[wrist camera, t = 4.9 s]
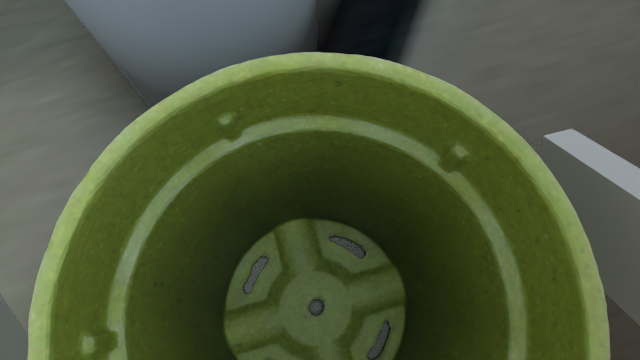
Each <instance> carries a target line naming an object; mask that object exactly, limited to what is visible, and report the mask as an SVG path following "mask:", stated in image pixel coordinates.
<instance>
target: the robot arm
mask: <svg viewBox="0 0 640 360" xmlns="http://www.w3.org/2000/svg"><path fill="white" fill-rule="evenodd" d="M541 159H542V160H543V162H544V163H545V164H546V165H547V167H548V168H549V170H550V171H551V172H552V174H553V175H554V177H555V178H556V180H557V181H558V183H559V184H560V186H561V187H562V189H563V191H564V192H565V194H566V195H567V197H568V199H569V201H570V202H571V204H572V206H573V208H574V209H575V211H576V213H577V215H578V218H579V220H580V222H581V224H582V226H583V229H584V232H585V234H586V236H587V238H588V240H589V242H590V245H591V249H592V252H593V255H594V258H595V261H596V264H597V266H598V271H599V276H600V279H601V282H602V285H603V288H604V292H605V293H606V294H607V295H608V296H609V297H610V298H611V299H612V300H613V301H614V302H615V303H616V304H617V305H618V306H619V307H620V308H621V309H622V310H623V311H624V312H625V313H627V314H628V315H629V316H630V317H631V318H632V319H633V320H634V321H635V322H636V323H637V324H638V325H639V326H640V168H638V167H636V166H634V165H633V164H631V163H629V162H628V161H626V160H624V159H623V158H621V157H619V156H618V155H616V154H614V153H612V152H611V151H609V150H607V149H606V148H604V147H602V146H601V145H599V144H597V143H596V142H594V141H592V140H590V139H589V138H587V137H585V136H584V135H582V134H580V133H579V132H577V131H575V130H574V129H568V130H564V131H560V132H556V133H552V134H548V135H544V136H543V143H542V155H541ZM27 357H28V334H27V333H26V331H25V330H24V328H23V327H22V325H21V324H20V322H19V321H18V319H17V318H16V316H15V315H14V313H13V312H12V310H11V309H10V307H9V306H8V304H7V303H6V302H5V300H4V299H3V297H2V296H1V294H0V360H27Z"/></svg>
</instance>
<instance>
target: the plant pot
mask: <svg viewBox="0 0 640 360" xmlns="http://www.w3.org/2000/svg"><path fill="white" fill-rule="evenodd" d="M333 236H339V237H344V238H348V239H350V240H353V241H354V242H356V243H357V244H358V245H360V246H361V247H362V248H363V250H364V251H365V253H366V254H365V256H364V258H358V257H357V256H356V255H355V254H353V253H352V252H350V251H349V250H347V249H346V248H344V247H342V246H340V245H337V244H336V242H331V241H330V240H329V237H333ZM261 256H263V257H267V258H268V263H267V264H266V266H264V268H263V270H262V271H261V273H260V274H259V276H258V278H257V280H256V281H255V284H254V285H253V289H252V291H251V293H248V294H245V291H244V289H243V286H244V284H245V282H246V280H247V278H248V277H249V275H250V269H251V267H252V265H253V264H254V263H255V262H256V261H257V260H258V259H259V258H260V257H261ZM315 299H319V300H321V301H323V304H324V310H323V312H322V313H321V314H319V315H318V316H315V315H312V314H311V313H310V311H309V305H310V304H311V302H312V301H313V300H315ZM384 321H388V324H389V326H390V327H391V330H390V333H389V337H388V339H387V342H386V344H385V347H384V349H383V351H382V353H381V354H380V355H379V357H378V358H375V359H374V360H611V359H610V334H609V322H608V316H607V304H606V300H605V295H604V288H603V285H602V282H601V279H600V276H599V271H598V266H597V264H596V261H595V258H594V255H593V252H592V249H591V245H590V242H589V240H588V238H587V236H586V234H585V232H584V229H583V226H582V224H581V222H580V220H579V218H578V215H577V213H576V211H575V209H574V208H573V206H572V204H571V202H570V201H569V199H568V197H567V195H566V194H565V192H564V191H563V189H562V187H561V186H560V184H559V183H558V181H557V180H556V178H555V177H554V175H553V174H552V172H551V171H550V170H549V168H548V167H547V165H546V164H545V163H544V162H543V160H542V159H541V158H540V156H539V155H538V154H537V153H536V152H535V151H534V150H533V149H532V147H531V146H530V145H529V144H528V143H527V142H526V141H525V140H524V139H523V138H522V137H521V136H520V135H519V134H518V133H517V132H516V131H515V130H514V129H513V128H512V127H511V126H509V125H508V124H507V123H506V122H505V121H504V120H502V119H501V118H500V117H499V116H498V115H496V114H495V113H494V112H492V111H491V110H489V109H488V108H487V107H485V106H484V105H483V104H481V103H480V102H479V101H477V100H476V99H475V98H473V97H472V96H470V95H468V94H467V93H465V92H463V91H462V90H460V89H459V88H457V87H456V86H453V85H451V84H449V83H447V82H445V81H443V80H441V79H439V78H436V77H434V76H431V75H428V74H426V73H423V72H420V71H418V70H415V69H413V68H410V67H407V66H404V65H401V64H398V63H394V62H391V61H387V60H383V59H379V58H375V57H368V56H362V55H349V54H340V53H321V52H301V53H289V54H284V55H274V56H268V57H263V58H258V59H254V60H249V61H246V62H243V63H240V64H235V65H232V66H229V67H226V68H223V69H220V70H218V71H216V72H214V73H212V74H210V75H207V76H205V77H202V78H200V79H199V80H197V81H195V82H193V83H191V84H189V85H187V86H185V87H184V88H182V89H180V90H179V91H177V92H175V93H174V94H172V95H170V96H169V97H167V98H165V99H164V100H162V101H160V102H159V103H158V104H156V105H155V106H153V107H152V108H150V109H149V110H148V111H146V112H145V113H143V114H142V115H141V116H139V117H138V118H137V119H136V120H134V121H133V122H132V123H131V124H130V125H128V126H127V127H126V128H125V129H124V130H123V131H122V132H121V133H120V134H119V135H118V136H117V137H116V138H115V139H114V140H113V141H112V142H111V143H110V144H109V145H108V146H107V148H106V149H105V150H104V151H103V152H102V154H101V155H100V156H99V157H98V159H97V160H96V161H95V162H94V163H93V165H92V166H91V168H90V169H89V171H88V173H87V174H86V176H85V177H84V179H83V180H82V181H81V183H80V184H79V185H78V186H77V188H76V189H75V190H74V192H73V193H72V195H71V197H70V199H69V201H68V202H67V204H66V206H65V208H64V210H63V212H62V214H61V216H60V217H59V219H58V221H57V223H56V226H55V229H54V231H53V234H52V236H51V239H50V242H49V245H48V248H47V250H46V252H45V254H44V257H43V260H42V263H41V266H40V269H39V272H38V276H37V279H36V282H35V288H34V293H33V298H32V302H31V307H30V311H29V323H28V357H27V360H267V359H270V360H370V359H368V358H367V355H368V353H369V352H370V350H371V348H372V347H373V345H374V343H375V342H376V340H377V338H378V335H379V333H380V332H381V327H382V325H383V322H384Z"/></svg>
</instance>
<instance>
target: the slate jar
mask: <svg viewBox="0 0 640 360" xmlns="http://www.w3.org/2000/svg"><path fill="white" fill-rule="evenodd" d="M65 2H66V3H67V4H68V5H69V7H70V8H71V9H72V11H73V12H74V13H75V14H76V16H77V17H78V18H79V20H80V21H81V22H82V23H83V25H84V26H85V27H86V28H87V30H88V31H89V32H90V34H91V35H92V36H93V37H94V39H95V40H96V41H97V43H98V44H99V45H100V46H101V48H102V49H103V50H104V52H105V53H106V54H107V55H108V57H109V58H110V59H111V60H112V62H113V63H114V64H115V66H116V67H117V68H118V69H119V71H120V72H121V73H122V75H123V76H124V77H125V78H126V80H127V81H128V82H129V84H130V85H131V86H132V87H133V89H134V90H135V91H136V93H137V94H138V95H139V96H140V98H141V99H142V100H143V101H144V103H145V104H146V105H147V107H148V108H149V109H150V108H152V107H153V106H155V105H156V104H158V103H159V102H160V101H162V100H164V99H165V98H167V97H169V96H170V95H172V94H174V93H175V92H177V91H179V90H180V89H182V88H184V87H185V86H187V85H189V84H191V83H193V82H195V81H197V80H199V79H200V78H202V77H205V76H207V75H210V74H212V73H214V72H216V71H218V70H220V69H223V68H226V67H229V66H232V65H235V64H240V63H243V62H246V61H249V60H254V59H258V58H263V57H268V56H274V55H284V54H289V53H301V52H317V31H318V2H319V0H65Z"/></svg>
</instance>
